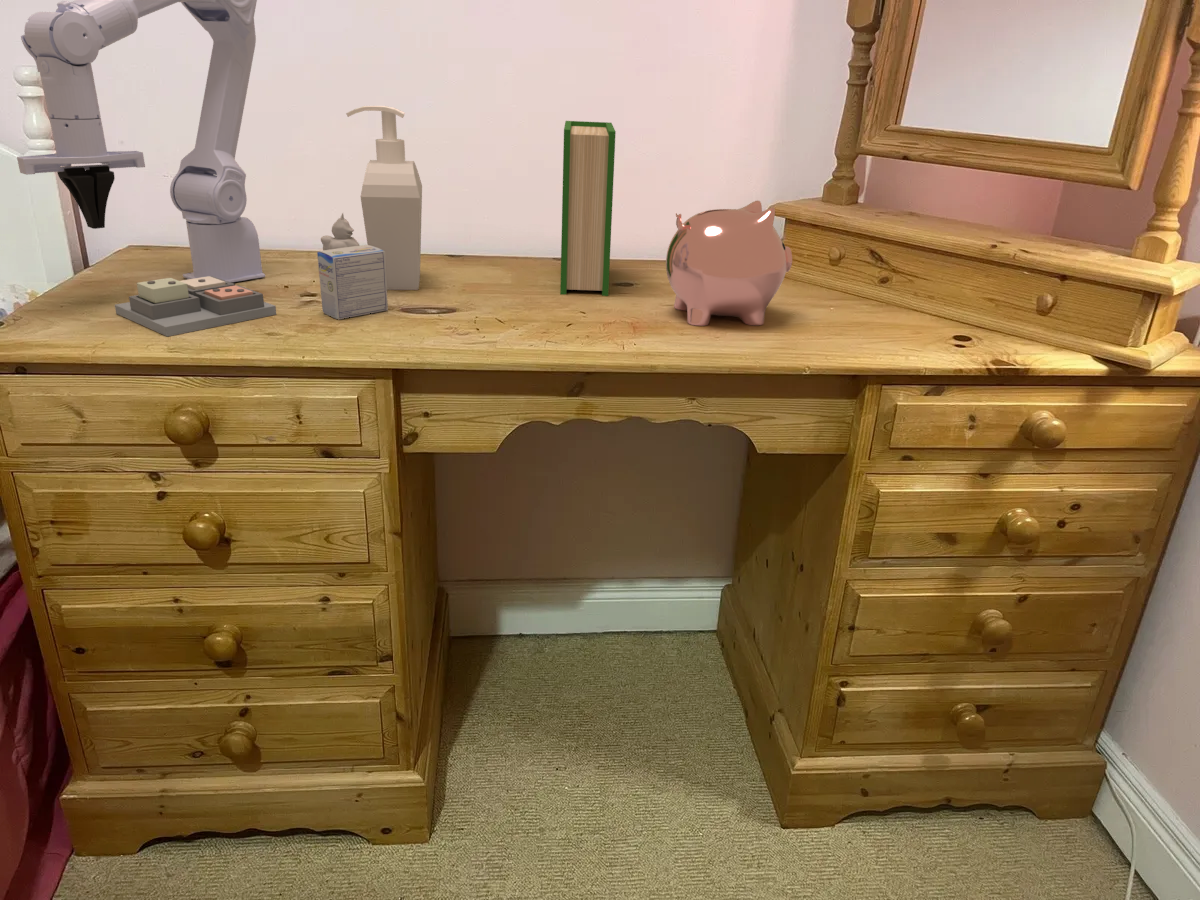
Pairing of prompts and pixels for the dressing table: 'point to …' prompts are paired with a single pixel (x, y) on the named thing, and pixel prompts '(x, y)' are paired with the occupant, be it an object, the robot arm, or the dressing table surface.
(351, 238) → the rubber duck
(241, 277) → the robot arm
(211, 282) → the tile ivory
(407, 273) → the soap bottle
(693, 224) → the piggy bank
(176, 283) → the tile sage
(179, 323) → the stacking puzzle board
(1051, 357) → the dressing table surface
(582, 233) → the hardback book
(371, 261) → the medicine box
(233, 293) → the tile coral
